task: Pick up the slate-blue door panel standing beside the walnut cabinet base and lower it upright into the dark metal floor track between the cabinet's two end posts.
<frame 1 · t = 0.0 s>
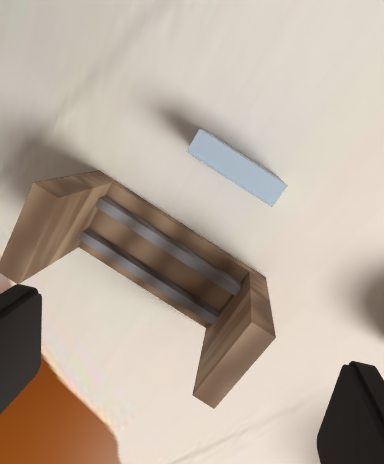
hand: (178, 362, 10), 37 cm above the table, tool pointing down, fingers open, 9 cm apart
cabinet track: (163, 255, 49), on the table
door panel: (237, 164, 44), on the table
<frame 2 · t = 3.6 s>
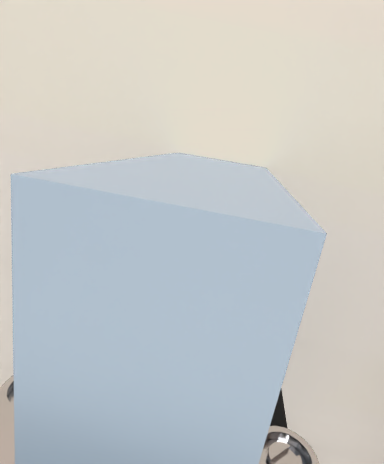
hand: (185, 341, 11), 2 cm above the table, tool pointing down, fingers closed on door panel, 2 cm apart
door panel: (193, 315, 12), on the table, touching gripper
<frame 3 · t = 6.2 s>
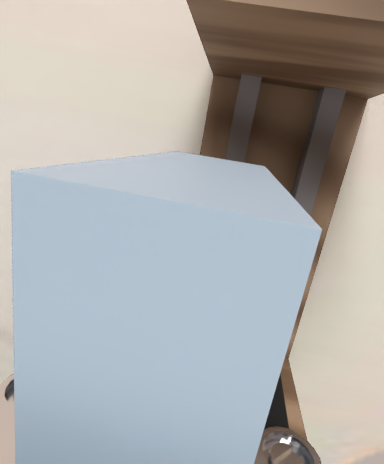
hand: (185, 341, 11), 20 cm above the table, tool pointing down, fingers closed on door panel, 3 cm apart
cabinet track: (254, 227, 29), on the table
door panel: (192, 313, 12), point 18 cm above the table, touching gripper
when the fingers open (6 cm above the table, at t = 9.3 s): door panel drops 2 cm, resting on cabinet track.
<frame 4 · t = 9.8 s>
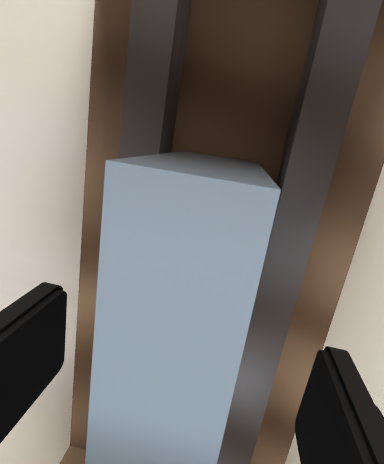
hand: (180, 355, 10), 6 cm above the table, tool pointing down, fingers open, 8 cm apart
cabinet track: (205, 274, 16), on the table
door panel: (199, 287, 15), point 1 cm above the table, touching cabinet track
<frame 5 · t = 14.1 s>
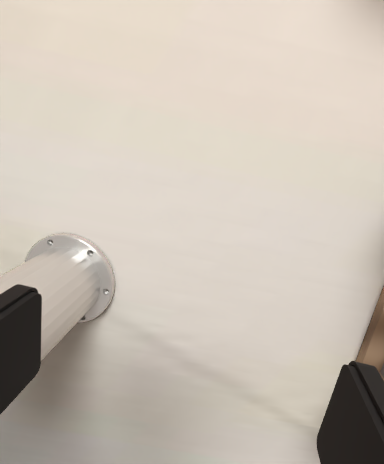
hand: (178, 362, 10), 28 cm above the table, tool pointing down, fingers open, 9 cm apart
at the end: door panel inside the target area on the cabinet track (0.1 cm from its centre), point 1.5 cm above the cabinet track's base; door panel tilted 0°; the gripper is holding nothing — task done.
